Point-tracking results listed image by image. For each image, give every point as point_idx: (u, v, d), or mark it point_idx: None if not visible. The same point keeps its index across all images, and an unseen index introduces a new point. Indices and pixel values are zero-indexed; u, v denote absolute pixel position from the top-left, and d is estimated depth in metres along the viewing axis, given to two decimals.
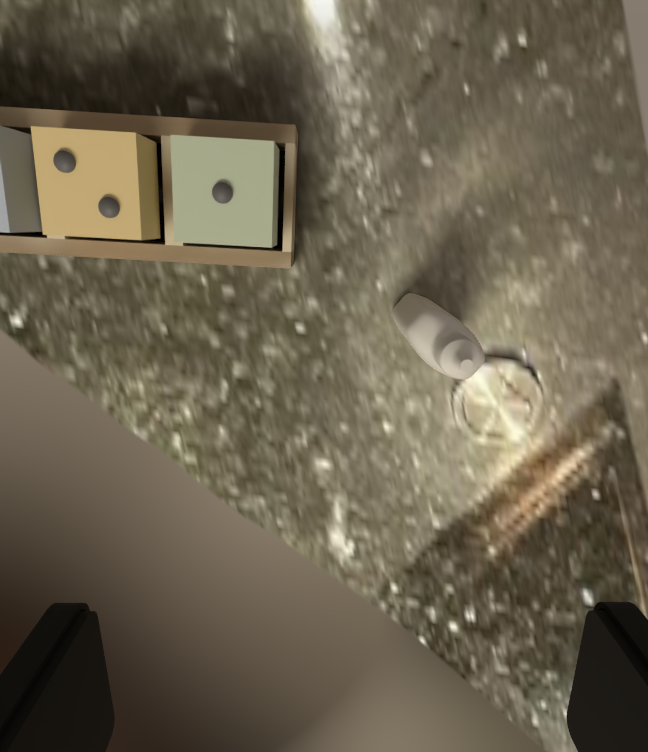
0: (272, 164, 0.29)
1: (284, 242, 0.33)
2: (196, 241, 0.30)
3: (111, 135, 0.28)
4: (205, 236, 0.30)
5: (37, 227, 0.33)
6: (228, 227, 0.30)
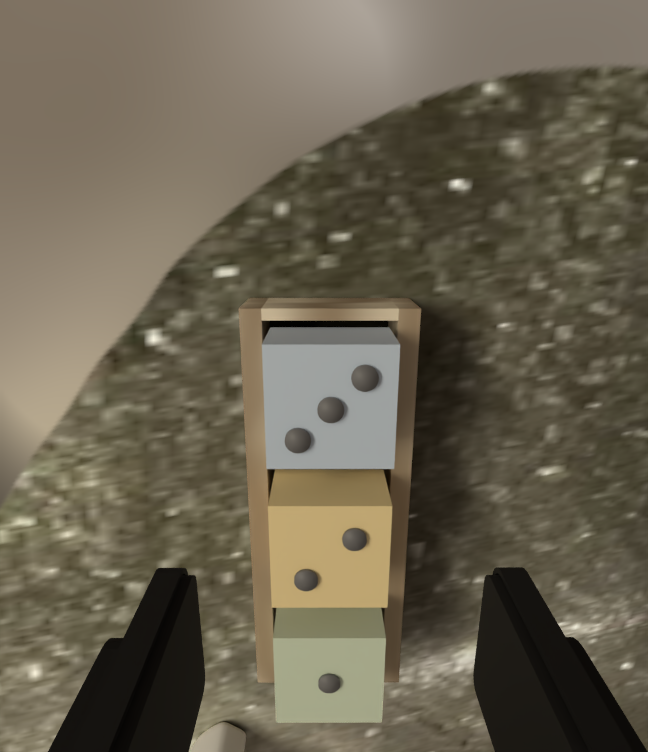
0: (359, 721, 0.28)
1: None
2: (275, 658, 0.26)
3: (384, 585, 0.25)
4: (281, 666, 0.26)
5: None
6: (293, 686, 0.27)
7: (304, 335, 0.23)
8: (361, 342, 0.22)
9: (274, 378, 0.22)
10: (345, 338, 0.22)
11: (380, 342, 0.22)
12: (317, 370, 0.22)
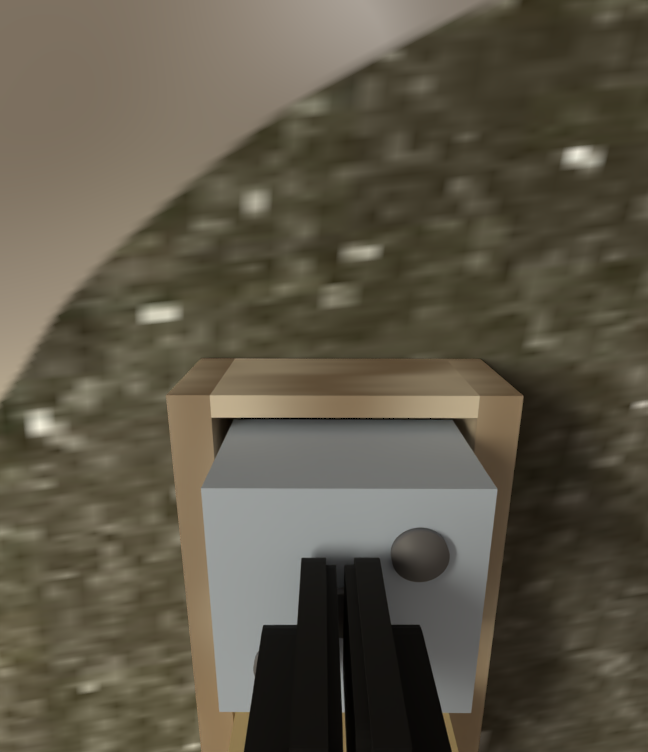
0: None
1: None
2: None
3: None
4: None
5: None
6: None
7: (294, 449, 0.12)
8: (411, 479, 0.10)
9: (231, 553, 0.10)
10: (376, 461, 0.11)
11: (452, 479, 0.10)
12: (321, 539, 0.10)
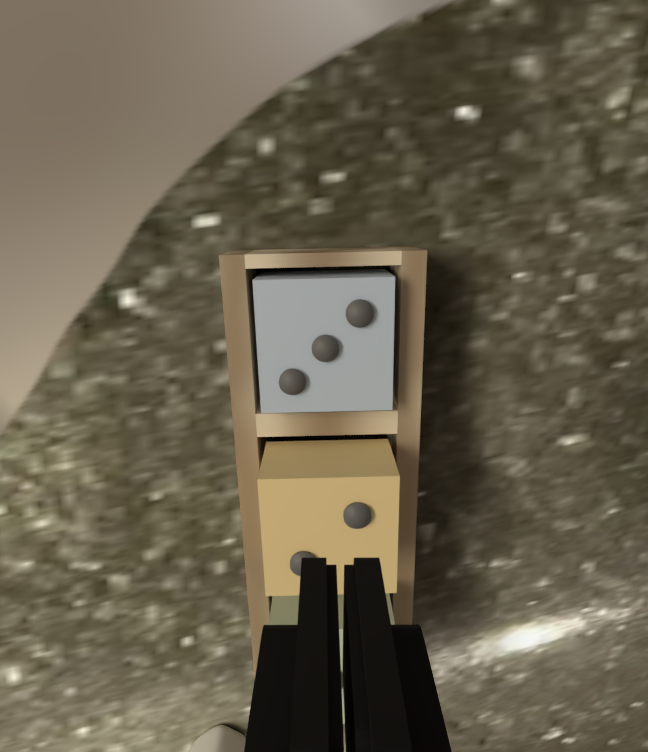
0: None
1: None
2: None
3: (392, 567, 0.22)
4: None
5: None
6: None
7: (296, 274, 0.22)
8: (354, 276, 0.21)
9: (267, 316, 0.21)
10: (338, 275, 0.22)
11: (374, 276, 0.21)
12: (311, 306, 0.21)
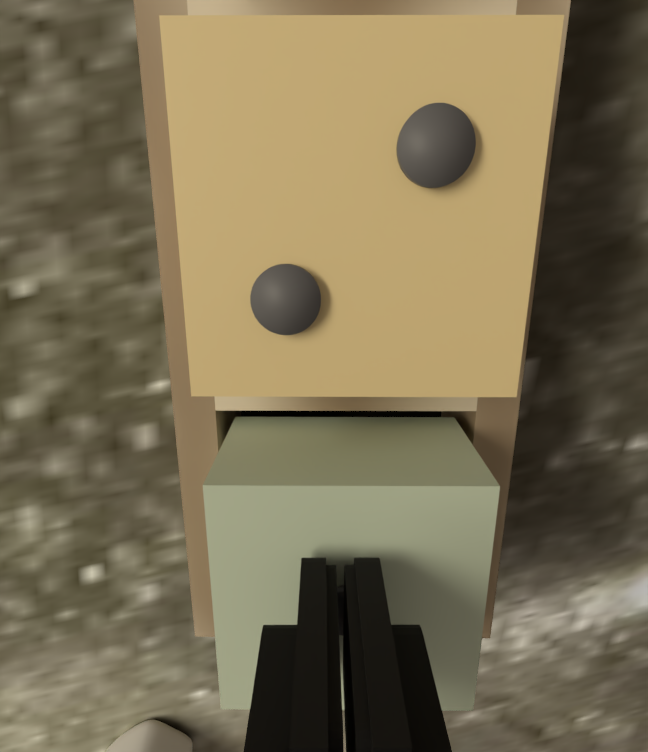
0: None
1: None
2: (212, 543, 0.10)
3: (513, 322, 0.09)
4: (229, 565, 0.10)
5: None
6: (260, 619, 0.11)
7: None
8: None
9: None
10: None
11: None
12: None
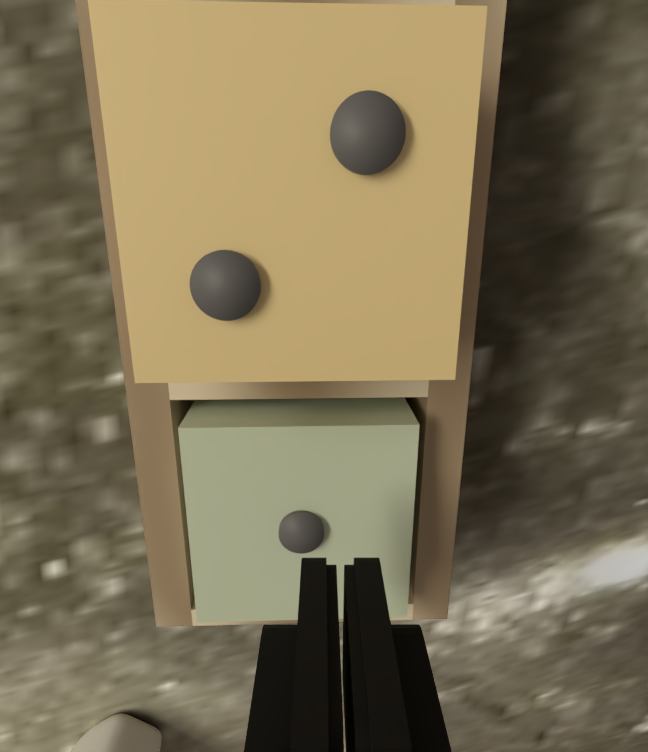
0: None
1: None
2: (187, 477, 0.12)
3: (449, 306, 0.09)
4: (201, 496, 0.13)
5: None
6: (228, 542, 0.13)
7: None
8: None
9: None
10: None
11: None
12: None
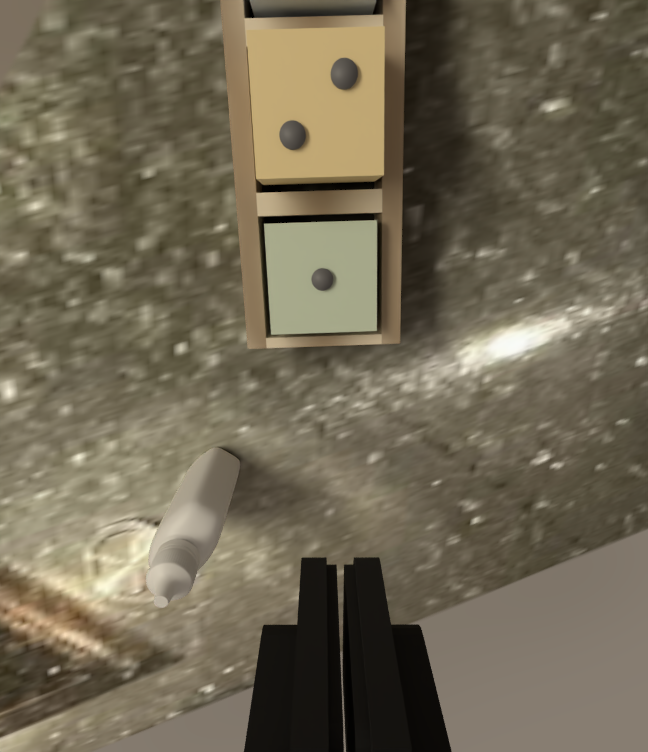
0: (354, 330, 0.28)
1: (276, 340, 0.29)
2: (267, 250, 0.26)
3: (379, 142, 0.23)
4: (274, 260, 0.26)
5: None
6: (287, 286, 0.27)
7: None
8: None
9: None
10: None
11: None
12: None
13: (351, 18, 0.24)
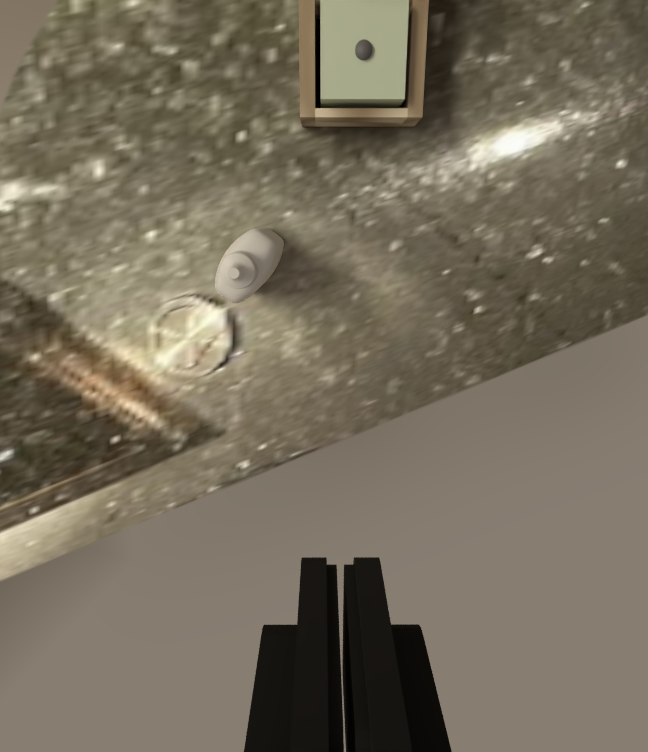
0: (387, 97, 0.35)
1: (323, 110, 0.36)
2: (322, 22, 0.33)
3: None
4: (326, 32, 0.34)
5: None
6: (335, 56, 0.34)
7: None
8: None
9: None
10: None
11: None
12: None
13: None
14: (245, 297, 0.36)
